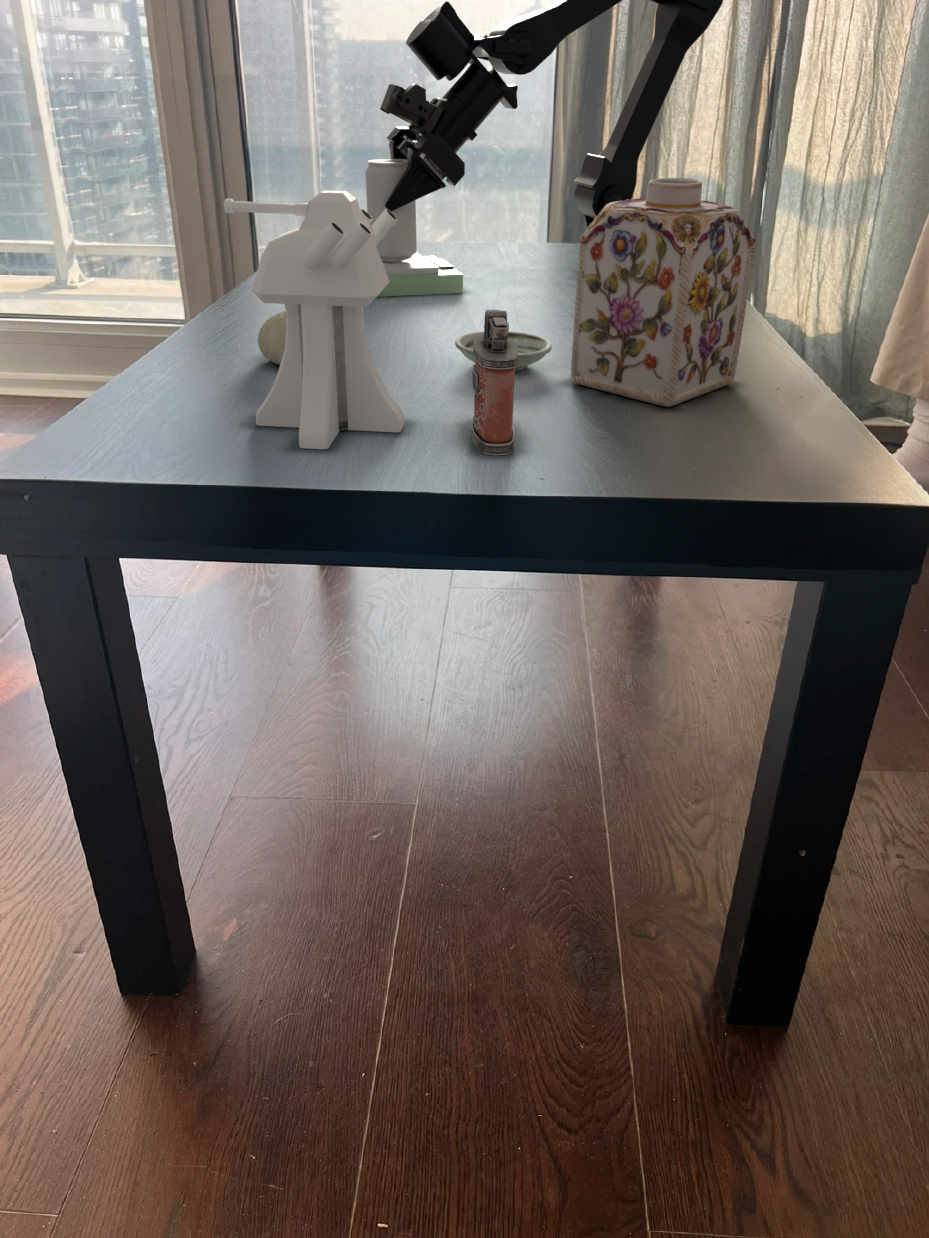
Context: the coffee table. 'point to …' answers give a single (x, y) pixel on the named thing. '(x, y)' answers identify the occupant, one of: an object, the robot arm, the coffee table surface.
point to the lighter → (494, 386)
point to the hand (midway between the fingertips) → (381, 205)
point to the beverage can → (378, 190)
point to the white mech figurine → (325, 318)
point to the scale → (421, 277)
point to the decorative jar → (661, 295)
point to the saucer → (527, 344)
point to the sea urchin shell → (273, 337)
